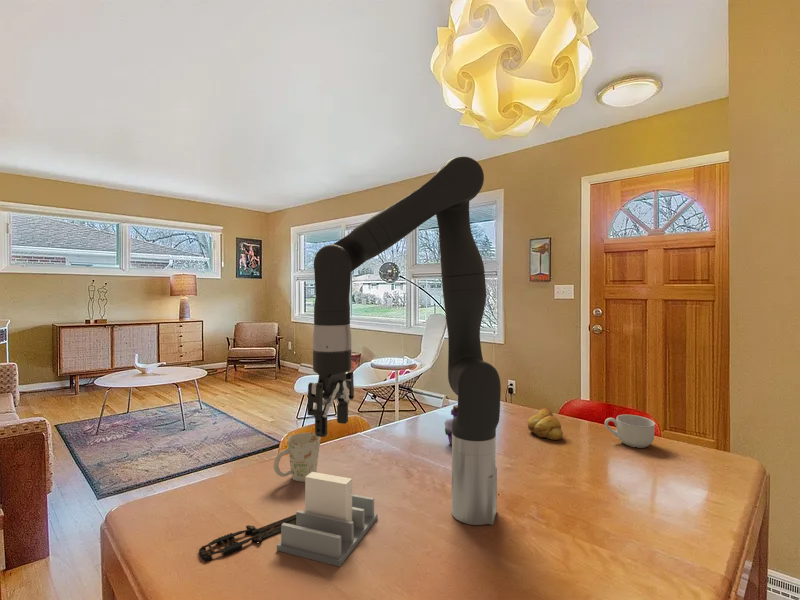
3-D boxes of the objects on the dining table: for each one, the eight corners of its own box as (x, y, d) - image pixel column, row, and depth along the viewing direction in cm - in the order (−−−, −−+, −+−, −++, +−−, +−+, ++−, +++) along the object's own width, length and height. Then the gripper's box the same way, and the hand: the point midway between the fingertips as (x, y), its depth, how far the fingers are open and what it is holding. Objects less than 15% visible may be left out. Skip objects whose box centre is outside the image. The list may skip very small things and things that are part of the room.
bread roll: (569, 441, 133) (570, 416, 133) (542, 443, 131) (542, 418, 131) (548, 428, 145) (548, 406, 145) (522, 430, 144) (522, 407, 144)
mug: (326, 476, 106) (326, 437, 106) (283, 493, 97) (283, 451, 97) (308, 467, 112) (308, 430, 112) (265, 482, 103) (265, 442, 103)
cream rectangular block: (312, 520, 84) (312, 471, 84) (352, 529, 81) (352, 478, 80) (305, 527, 81) (305, 476, 81) (346, 536, 78) (346, 484, 78)
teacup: (655, 442, 132) (655, 417, 132) (654, 453, 123) (655, 426, 123) (606, 434, 139) (606, 411, 139) (602, 444, 130) (603, 419, 130)
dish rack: (323, 507, 91) (323, 487, 91) (377, 518, 86) (377, 497, 86) (276, 550, 75) (276, 526, 75) (339, 566, 71) (339, 540, 71)
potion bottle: (441, 439, 134) (441, 402, 134) (467, 438, 135) (467, 402, 135) (447, 449, 125) (447, 410, 125) (474, 448, 126) (475, 409, 126)
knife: (321, 508, 91) (321, 502, 91) (334, 521, 86) (334, 514, 86) (196, 548, 77) (196, 541, 77) (203, 567, 71) (203, 559, 71)
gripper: (331, 353, 73) (331, 443, 74) (364, 344, 87) (364, 420, 87) (295, 351, 76) (295, 438, 76) (333, 342, 89) (333, 417, 90)
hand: (332, 429), depth 82 cm, fingers open, 8 cm apart
